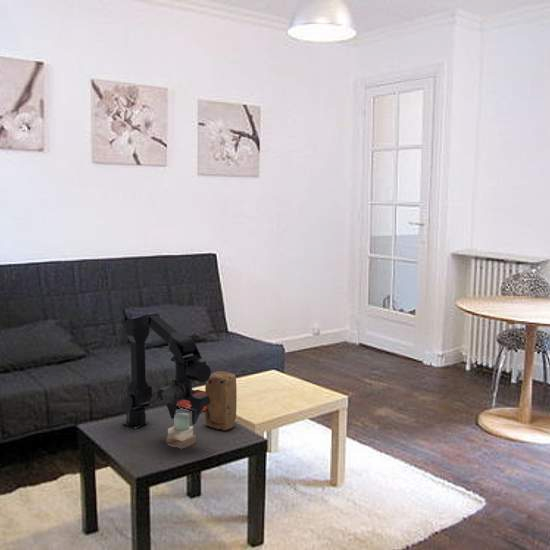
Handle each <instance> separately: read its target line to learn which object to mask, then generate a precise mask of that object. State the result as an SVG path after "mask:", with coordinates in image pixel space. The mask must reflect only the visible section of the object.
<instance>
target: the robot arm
mask: <svg viewBox="0 0 550 550" xmlns="http://www.w3.org/2000/svg"><path fill="white" fill-rule="evenodd" d="M124 328H125V329H124V330H125V336H126V337H127V338H128V340H129V341H130V342H129V343H130V361H131V362H130V366H131V367H130V368H131V382H130V384H129V385H128V387H127V390H126V397H124V399H123V400H122V402H121V409H122V410H124V411H126V422H124V423H123V424H125V425H124V426H126V425H128V426H127V427H129V426H132V427H138V426H141V427H143V426H145V425H144V424H146V422H147V423H148V424H149V421H147V419H146V417H147V416H146V415H147V414H146V408H148V407H150V405H151V401H152V397H153V393H152V392H153V391H152V389H153V388H152V386H151V385H149V383H148V382H147V372H146V369H147V368H146V367H147V366H146V341H147V338H148V337H149V335H150V331H151V330H152V331H153V332H154V333H155V334H157V335H158V336H159V337H160V338H161V339H162V340H163V341H164V342H166V344H167V345H168V347H167V348H168V350H169V352H171V354H172V355H173V356H172V357H171V358H170V361H171V362H174V378H173V379H172V380H171V385H167V386H164V387H160V388H159V389H158V390H157V393H156V395H157V396H156V397H157V398H158V399H159V400H160V401H161V402H163V403H164V404H165V405H166V408H167V410H168V413H169V416H170V418H171V420H174V415H175V414H177V413H176V411H177V408H176V405H177V401H181V400H182V399H184V400H188V401H190V404H191V406H190V408H191V410H192V412H191V423H192V425H194V426H195V425H196V423H197V421H198V420H199V417H200V415H201V414H202V413H201V411H202V410H203V408H204V407H205V406H207V405H208V404H210V397H209V396H208V395H204V394H198V395H196V396H192V394H194V393H195V390H196V389H193V383H194V382H199V383H206V381H207V380H208V379H209V378H210V375H211V374H212V370H211V368H210V366H209V365H208V364H207V360H202V356H201V352H200V351H199V349H198V347H197V344H196V341H195V340H194V339H193V338H192V337H190V336H188V335H187V334H185V333H180V332H178V331H177V330H176V329H174V327H172V326H171V325H170V324H169V323H167V322H166V321H165V320H164V319H163V318H161V315H160V314H159V313H157V312H151V313H145V314H143V315H141V316H135V317H134V316H132V317H129V318H127V319H126V321H125V322H124ZM150 329H151V330H150ZM142 425H143V426H142ZM146 425H147V424H146ZM132 427H131V428H132ZM138 428H139V427H138Z"/></svg>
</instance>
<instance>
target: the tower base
mask: <svg viewBox="0 0 550 550" xmlns="http://www.w3.org/2000/svg"><path fill="white" fill-rule="evenodd" d="M165 438H166V443H168V444H171V445H174V446H177V447H180V448H183V447H186V446H187V445H190V444H192V443H194V442H196V443H197V435H196V434H193V436H191V437H189V438H187V439H186V440H184V441H180V440H176V439H171V438H168V436H166V437H165Z"/></svg>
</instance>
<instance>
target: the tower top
mask: <svg viewBox="0 0 550 550" xmlns="http://www.w3.org/2000/svg"><path fill="white" fill-rule="evenodd" d="M193 435H194V426H192V425H191V426H190V425H189V429H188V430H186V431H177V430H175V429H174V425H173V426H171V427H169V428H167V437H168V438H171V439H176V440H180V441H184V440H186V439H187V438H189V437H191V436H193Z"/></svg>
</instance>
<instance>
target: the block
mask: <svg viewBox="0 0 550 550" xmlns="http://www.w3.org/2000/svg"><path fill="white" fill-rule="evenodd" d="M204 386H205V387H204V389H205V390H204V391H205V395H208V396H209V397H210V404H208V405H207V406H206V410H205V412H204V414H205V416H204V417H205V421H204V422H205V425H206V426H208V427H210V428H212V427H213V428H212V429H215V428H217V429H216V430H218V429H222V430H221V431H228V429H229V430H231V429H233V427H234V426H235V422H236V418H237V398H238V396H237V391H238V389H237V377H236V375H235V373H233V372H229V371H226V370H225V371H223V370H218V371H214V372H211V375H210V378H209V379H208V380H207V381H206V382H205V385H204ZM230 428H231V429H230Z"/></svg>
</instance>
